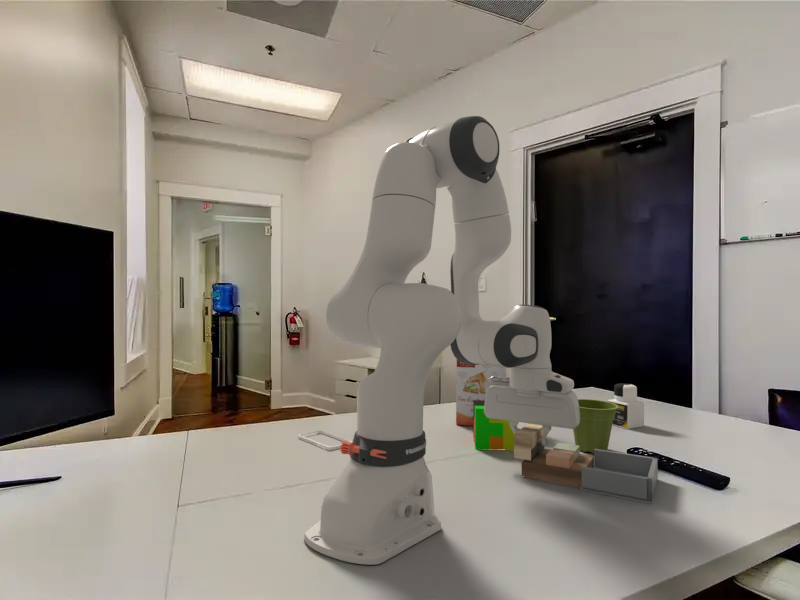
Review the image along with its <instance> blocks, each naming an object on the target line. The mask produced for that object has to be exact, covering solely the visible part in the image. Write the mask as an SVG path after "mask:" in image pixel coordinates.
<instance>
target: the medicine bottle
mask: <svg viewBox="0 0 800 600" xmlns="http://www.w3.org/2000/svg"><path fill="white" fill-rule="evenodd" d="M613 387H614V388H613V397H614V398H613V399H607V402H611V403H614V404H616V405H618V406H619V408H618V409H616V413H615V417H614V419H613V423H612V426H615V427H619V428H622V429H625V430H631V429H636V428H643V427H645V403H644V401H639V400H637V399H638V387H637V386H636V385H634V384H632V383H624V382H623V383H621V382H620V383H616V384H614V386H613Z"/></svg>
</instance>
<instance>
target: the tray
mask: <svg viewBox="0 0 800 600" xmlns="http://www.w3.org/2000/svg"><path fill="white" fill-rule="evenodd" d="M593 456H594V468H589V467H583V466H582V488H581V491H584V492H589V493H595V494H599V495H606V496H609V497H610V496H611V497H615V498H620V499H625V500H629V501H636V502H641V503H645V504H651V505H652V504H653V501H654V497H655V492H656V488H657V484H658V473H659V472H658V470H659V469H658V468H659V467H658V463H659V462H658V460H659V459H658V458H657V457H652V456H645V455H639V454H632V453H626V452H625V453H624V452H621V451H619V452H618V451H612V450H608V449H607V450H600V449H594V453H593Z"/></svg>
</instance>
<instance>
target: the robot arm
mask: <svg viewBox="0 0 800 600" xmlns="http://www.w3.org/2000/svg"><path fill="white" fill-rule="evenodd" d="M499 158H500V139H499V136H498V133H497V132H496V129H495V128H494V126H493V125H492V124H491V123H490V122H489V121H488V120H487V119H486V118H484V117H482V116H479V115H472V116H471V115H470V116H464V117H460V118H457V119H456V120H455V121H451V122H448V123H445V124H442V125H438V126H434V127H431V128H429V129H426V130H425V131H423V132H421V133H419V134H418V135H416V136H415V137H414V136H413V137H411V138H408V139H407V140H405V141H403V142H402V141H401V142H398V143H395V144H392V145H391V146H389V147H388V148H387V149H386V151H385V152H384V154H383V156H382V159H381V161H380V164H379V168H378V171H377V175H376V177H375V183H374V188H373V192H372V200H371V206H370V213H369V220H368V221H369V222H368V227H367V233H366V237H365V242H364V245H363V249H362V253H361V254H360V256H359V260H358V261H357V264H356V266H355V267H354V269H353V271H352V273H351V275H350V276H349V278H348V280H347V281H346V282H345V284H344V285H343V286H342V287H341V288H340V289H339V290H338V291H336V292H335V293H334V294H333V295H332V296H331V298H330V299H329V302H328V304H327V308H326V313H325V318H326V324H327V326H328V329H329V331H330V333H331V335H332V336H333V337H335V338H336V339H338V340H339V341H342V342H345V343H346V344H348V345H353V346H355V347H360V348H361V347H362V348H372V349H373V348H374V349H380V354H379V359H378V363H377V365H376V368H375V369H374V371H373V372H372V373H370V374H368V375H367V376H366V377H364V378H363V379H362V380H361V381H360V382H359V385H358V386H357V391H356V397H357V398H356V406H357V407H356V415H357V416H356V431H355V432H354V434H353V435H354V436H353V439H352V442H351V443H350V442H348V441H341V443H340V444H342V445H340V444H339V445H340V447H341V448H339V452H341V454H342V455H349V457H350V458H349V461H348V462H347V463H346V465H345V466H344V468H343V469H342V470H341V472H340V473H339V475H338V477H337V478H336V479H335V481H334V482H333V484H332V485H331V486H330V488H329V489H328V491H327V492H326V494H325V495H324V497H323V499H322V504H321V511H320V519H319V520H318V521H317V522H315V524H314V525H312V526H311V527H310V528H309V529H307V530H306V531H305V533H304V537H303V538H304V539H303V540H304V541H305V544H307V546H308V547H310V548H311V549H313V550H314V551H316V552H318V553H320V554H322V555H325V556H327V557H330V558H333V559H335V560H336V559H337V560H339V561H343V562H347V563H351V564H358V565H380V564H382V563H384V562H386V561H387V560H390V559H391V558H393V557H395V556H396V555H398V554H400V553H402V552H403V551H406V550H407V549H409V548H411V547H413V546H414V545H415V544H418V543H420V542H421V541H423V540H425V539H426V538H428V537H430V536H432V535H434V534H436V533H437V532H439V531H440V530H442V522H441V520H440V519H439V517H437V516H436V513H435V511H436V510H435V502H434V500H435V499H434V487H433V476H432V473H431V471H430V470H429V468H428V466H427V464H426V461H425V455H426V454H427V453H426V452H427V449H426V446H427V439H426V432H425V430H424V403H425V402H424V401H425V399H424V398H425V389H426V385H427V384H426V383H427V379H428V376H429V373H430V371H431V369H432V366H433V365H434V362H435V361H436V359H437V358H438V357H439V355H441V354H442V352H443V351H444V350H446V349H447V348H449V346H450V349H451V352H452V354H453V356H454V358H455V359H456V361H457V360H458V361H460V362H461V363H463V364H467V365H485V366H491V367H500V368H506V369H509V371H508V373H509V375H508V376H509V377H507V376H506V377H491V378H489V379H487V380H486V382H485V393H486V397H485V405H484V414H485V415H486V417H487V418H492V419H500V420H508V421H509V426H510V428H511V429H512V431H513V433H514V434H515V433H516V432H518V431H519V430H520V429H519V428H518V425H519V423H523V424H524V423H525V424H528V423H530V424H538V425H542V430H545V432H544V433H543V435H542V436H540V435H539V437H537V441H538V442H537V445H540V446H545V447H546V445H547V436H548V435H549V433H550V431H552V427H555V428H562V429H569V430H573V429H574V428H576V427H577V426H578V425H579V423H580V410H579V403H578V399H579V398H578V395H577V394H576V393H575V392H574V391H573V390H574V387H575V382H574V380H573V379H571V378H570V377H567V376H564V375H561V374H559V373H557V372H554V371H553V370H552V362H551V358H550V357H551V356H550V354H551V350H552V327H551V326H552V325H551V318H550V314H549V312H548V310H547V309H545V308H544V307H543V306H542V307H541V306H539V305H533V304H532V305H531V304H516V305H513V307H512V309H511V311H510V312H509V313H508V314H506V315H505V316H503V317H502V318H500V319H498V320H485V319H483V318H482V316H481V315H480V301H479V300H480V298H479V294H480V293H479V282H480V277H481V275H482V273H483V272H484V271H485V270H486V269H487V268H488V267H489V266H491V265H492V264H493V263H495V262H497V261H498V260H499V259H500V258H501V257H502V256H503V255H504V254H505V253H506V251H507V249H508V248H509V247H510V244H511V241H512V224H511V219H510V218H511V217H510V214H509V213H510V211H509V206H508V202H507V197H506V193H505V189H504V185H503V183H502V180H501V177H500V175H499V171H498V170H497V165H498V163H499ZM444 187H445V188H446V187H447V191H448V193H449V194H450V195H451V207H452V215H453V217H452V218H453V223H454V233H455V240H454V241H455V243H454V250H453V251H454V252H453V254H452V256H451V259H450V271H449V273H450V289H449V288H445V287H442V286H438V285H433V284H429V283H422V282H408V283H405V282H406V280H407V278H408V277H409V275H410V273H411V271H412V270H413V269H414V268H415V267H416V266H417V265H419V264H421V262H423V261H424V260H425V259H426V258H427V257H428V255H429V253H430V251H431V249H432V248H431V247H432V241H433V231H434V223H435V222H434V221H435V214H436V203H437V189H440V188H444ZM489 380H491V381H489ZM497 381H498V382H497Z"/></svg>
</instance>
